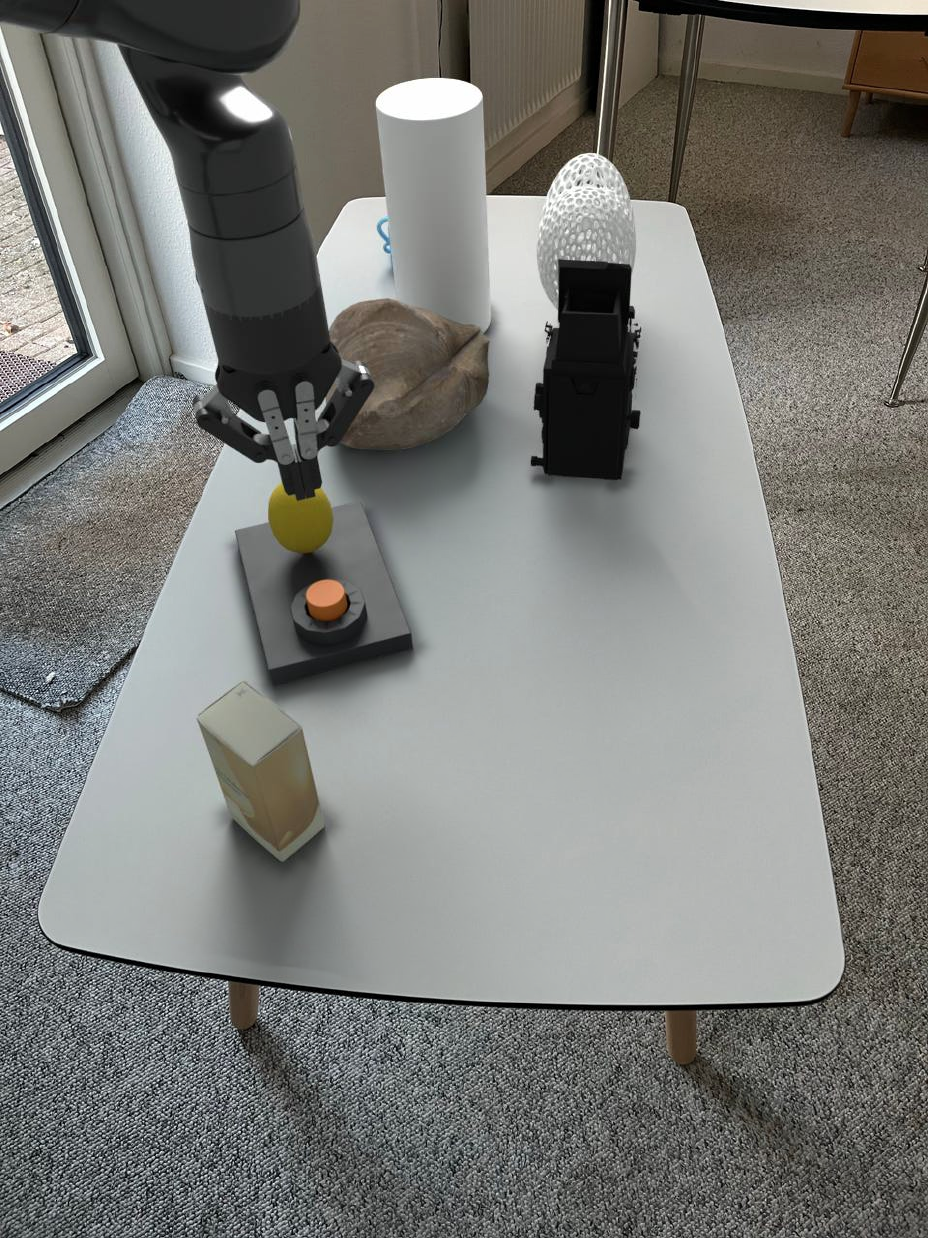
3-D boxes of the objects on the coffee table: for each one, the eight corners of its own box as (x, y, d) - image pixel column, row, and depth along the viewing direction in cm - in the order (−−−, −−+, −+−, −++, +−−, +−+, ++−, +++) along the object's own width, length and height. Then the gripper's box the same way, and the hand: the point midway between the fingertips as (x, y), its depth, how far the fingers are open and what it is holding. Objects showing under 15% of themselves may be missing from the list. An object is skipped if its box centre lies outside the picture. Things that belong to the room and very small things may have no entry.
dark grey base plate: (272, 685, 88) (264, 657, 85) (238, 545, 100) (230, 516, 97) (413, 648, 90) (409, 619, 87) (363, 515, 102) (358, 486, 99)
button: (313, 625, 88) (309, 611, 86) (305, 599, 90) (302, 584, 89) (351, 616, 88) (348, 601, 87) (342, 590, 90) (339, 575, 89)
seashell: (528, 322, 108) (413, 246, 99) (494, 474, 104) (372, 411, 95) (432, 356, 120) (322, 292, 111) (399, 494, 117) (283, 439, 108)
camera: (642, 404, 111) (657, 220, 97) (632, 488, 102) (648, 298, 88) (546, 398, 113) (547, 216, 98) (529, 480, 104) (527, 292, 89)
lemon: (269, 569, 94) (252, 499, 89) (287, 527, 98) (271, 458, 92) (330, 574, 94) (316, 504, 88) (345, 531, 97) (332, 462, 92)
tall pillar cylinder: (384, 337, 123) (357, 113, 105) (422, 291, 129) (402, 72, 111) (470, 353, 120) (457, 125, 101) (504, 305, 126) (498, 82, 108)
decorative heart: (631, 366, 116) (642, 215, 104) (533, 365, 117) (532, 215, 105) (629, 281, 129) (639, 136, 116) (540, 280, 130) (540, 138, 117)
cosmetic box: (228, 816, 79) (189, 714, 70) (273, 779, 81) (241, 675, 72) (284, 867, 76) (251, 766, 67) (330, 827, 78) (303, 724, 69)
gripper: (161, 332, 64) (223, 545, 76) (375, 288, 66) (402, 502, 79) (148, 273, 69) (209, 482, 81) (348, 234, 71) (377, 443, 84)
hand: (304, 492), depth 80 cm, fingers closed
